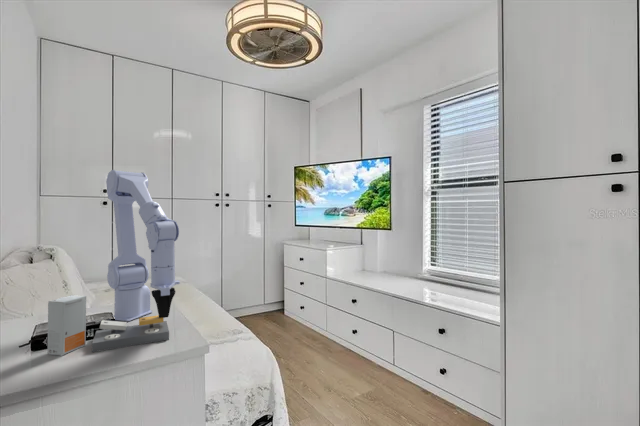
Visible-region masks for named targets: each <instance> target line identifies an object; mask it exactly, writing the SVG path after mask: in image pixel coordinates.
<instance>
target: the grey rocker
mask: <svg viewBox="0 0 640 426" xmlns="http://www.w3.org/2000/svg"><path fill="white" fill-rule="evenodd" d="M127 322H128V321H119V320H106V319H105V320H104V319H103V320H101V322H100V325H99V329H100V330H105V329H114V330H126V327H127V326H128V323H127Z"/></svg>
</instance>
